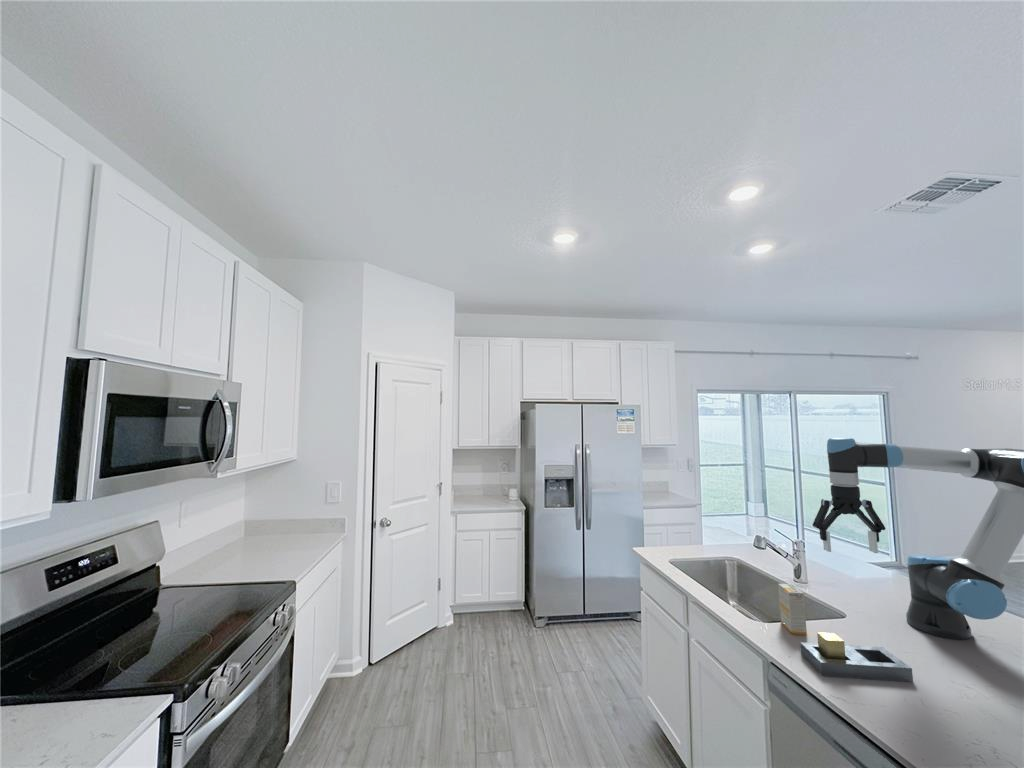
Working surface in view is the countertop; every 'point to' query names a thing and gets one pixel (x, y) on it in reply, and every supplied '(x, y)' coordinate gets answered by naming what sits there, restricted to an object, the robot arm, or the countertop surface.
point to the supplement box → (792, 609)
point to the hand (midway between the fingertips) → (850, 551)
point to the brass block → (831, 646)
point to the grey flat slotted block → (859, 663)
